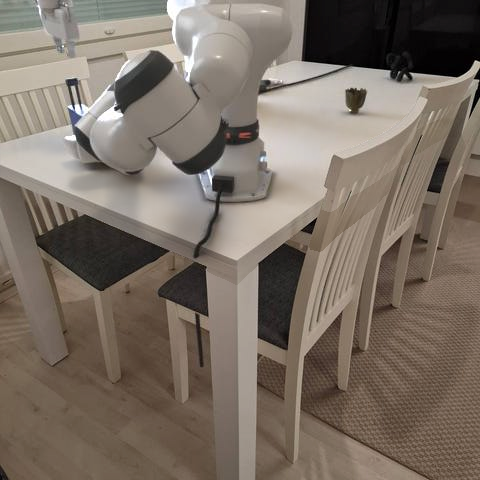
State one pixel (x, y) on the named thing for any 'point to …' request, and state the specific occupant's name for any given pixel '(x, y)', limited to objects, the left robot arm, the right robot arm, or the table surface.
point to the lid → (80, 108)
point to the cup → (355, 99)
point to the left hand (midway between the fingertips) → (66, 55)
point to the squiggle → (399, 66)
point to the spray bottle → (268, 83)
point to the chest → (73, 119)
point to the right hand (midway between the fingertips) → (93, 132)
